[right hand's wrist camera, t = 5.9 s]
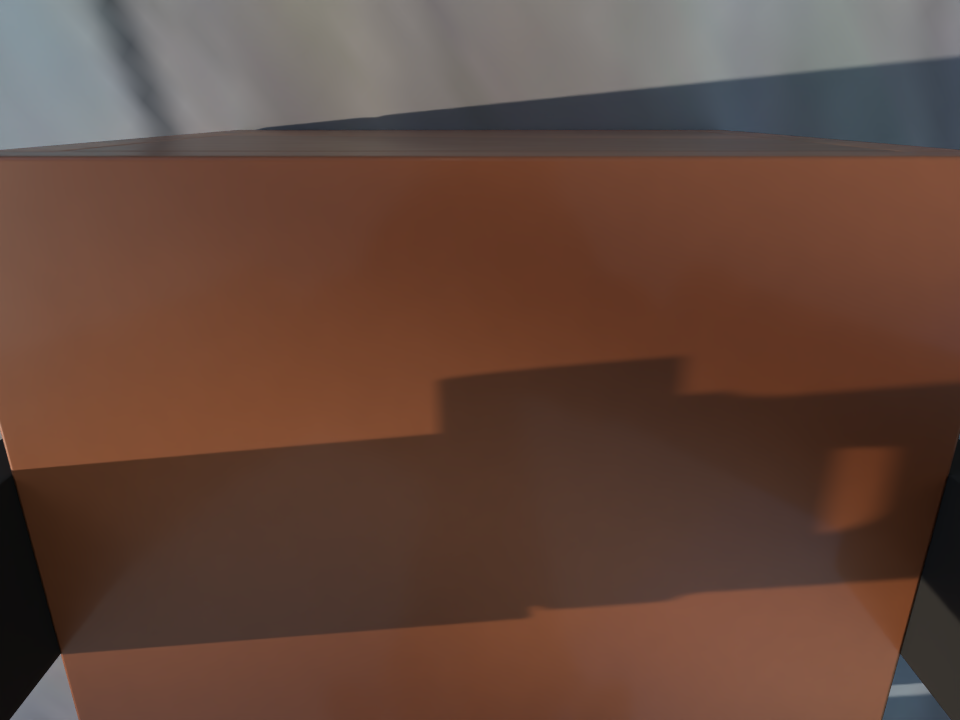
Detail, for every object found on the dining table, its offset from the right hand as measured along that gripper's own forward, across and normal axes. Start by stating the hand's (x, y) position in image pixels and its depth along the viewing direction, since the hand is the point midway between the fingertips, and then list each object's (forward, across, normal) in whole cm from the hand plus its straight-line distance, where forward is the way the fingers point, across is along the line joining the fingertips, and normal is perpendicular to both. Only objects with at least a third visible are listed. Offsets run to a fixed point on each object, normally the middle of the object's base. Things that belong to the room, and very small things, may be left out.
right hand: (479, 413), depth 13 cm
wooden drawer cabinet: (+5, 0, -4) cm, 6 cm away
